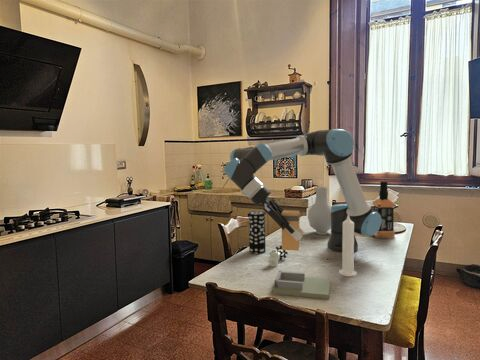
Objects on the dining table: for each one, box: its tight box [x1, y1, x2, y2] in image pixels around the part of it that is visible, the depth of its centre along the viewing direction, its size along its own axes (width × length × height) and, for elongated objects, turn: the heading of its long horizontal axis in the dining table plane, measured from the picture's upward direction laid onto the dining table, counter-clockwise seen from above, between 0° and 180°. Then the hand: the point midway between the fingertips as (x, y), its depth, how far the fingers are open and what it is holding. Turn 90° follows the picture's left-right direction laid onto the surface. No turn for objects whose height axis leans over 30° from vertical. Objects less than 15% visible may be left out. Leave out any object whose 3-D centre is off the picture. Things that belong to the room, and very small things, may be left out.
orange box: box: [281, 209, 301, 252], centre depth 130 cm, size 6×5×14 cm
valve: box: [268, 244, 289, 267], centre depth 160 cm, size 7×7×12 cm
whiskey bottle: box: [372, 180, 396, 239], centre depth 199 cm, size 10×10×32 cm
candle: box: [338, 215, 358, 278], centre depth 143 cm, size 7×7×25 cm
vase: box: [307, 186, 333, 236], centre depth 208 cm, size 17×16×28 cm
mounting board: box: [272, 270, 331, 300], centre depth 131 cm, size 20×15×4 cm
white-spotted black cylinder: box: [248, 210, 267, 255], centre depth 176 cm, size 8×8×20 cm
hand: (300, 236), depth 129 cm, fingers closed on orange box, 5 cm apart
